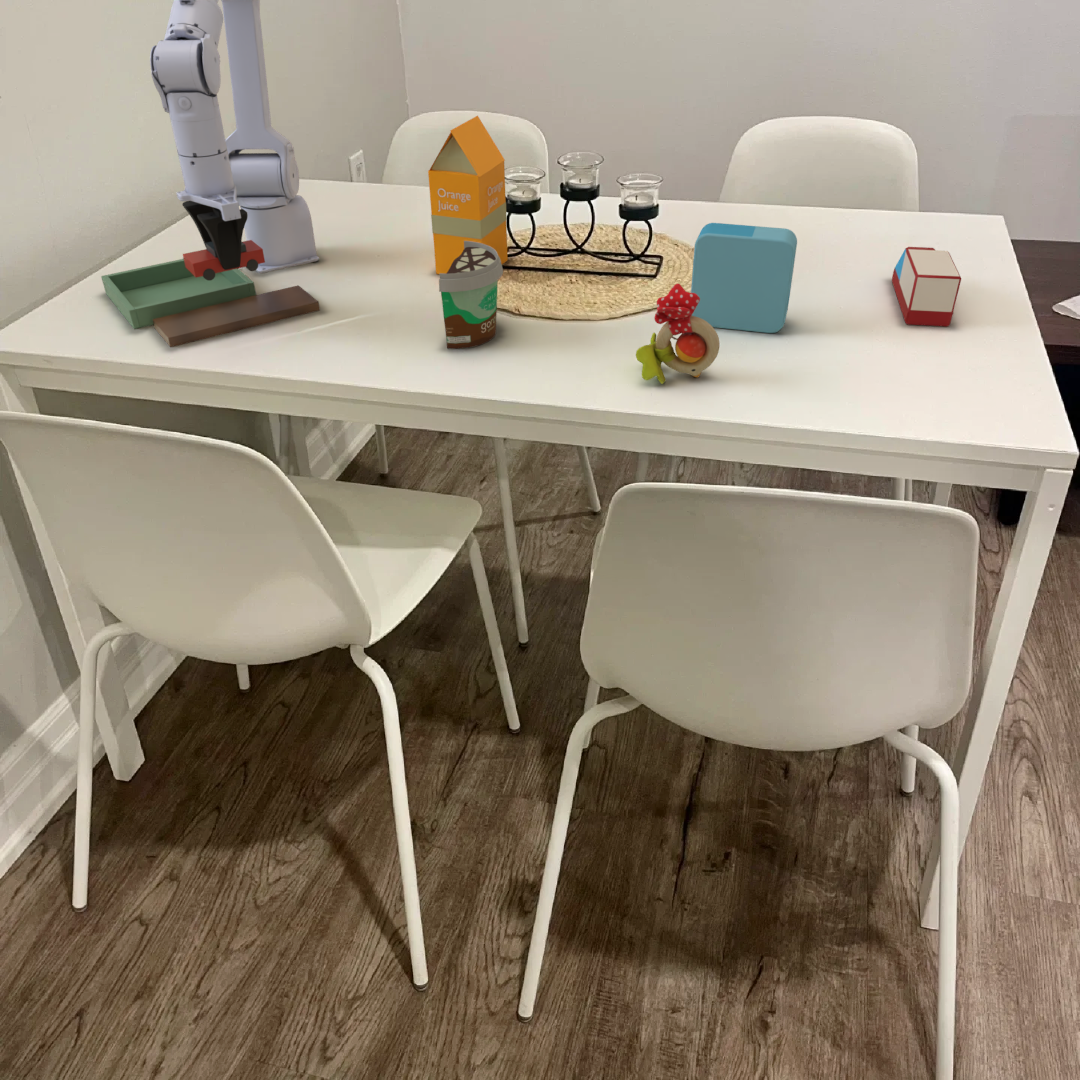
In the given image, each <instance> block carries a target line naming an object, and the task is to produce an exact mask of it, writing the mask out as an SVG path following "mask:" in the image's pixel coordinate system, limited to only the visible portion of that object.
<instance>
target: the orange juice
mask: <svg viewBox="0 0 1080 1080" xmlns="http://www.w3.org/2000/svg"><path fill="white" fill-rule="evenodd" d="M505 161H506V160H505V158H504V156H503V155H502V153H501V151H500V150H499V148H498V147H497V144H496V143H495V142H494V140H493V138H492V136H491V135H490V133H489V132H488V130H487V127H485V125H484V124H483V122H482V120H481V118H480V117H479V115H476V116H474V117H472V118H470V119H468V120H467V121H465V122H463V123H461V124H459V125H458V126H456V127H454V128H452V129H450V130H449V134H448V136H447V138H446V140H445V142H444V143H443V144H442V147H441V149H440V150H439V152H438V154H437V156H436V158H434V161H433V163H432V165H431V166H430V168H429V170H427V174H428V175H427V177H428V187H429V199H430V200H429V201H430V211H431V213H430V215H431V218H430V219H431V227H432V228H431V231H432V237H433V238H432V239H433V251H434V264H435V274H436V275H439V273H445V274H446V273H447V272H448V270H449V269H450V267H451V265H452V263H453V261H454V260H455V259H456V258H457V257H459V256H460V255H461V253H462V252H463V250H464V241H472V242H478V243H482V244H485V245H488V246H490V247H492V248H493V249H495V250H496V251H497V254H498V256H499V257H500V260H501V264H502V265H504V264H505V263H506V262H507V261H508V259H509V257H508V232H507V230H508V229H507V227H508V226H507V220H508V219H507V202H506V201H507V200H506V198H507V197H506V173H505V172H506V171H505Z"/></svg>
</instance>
